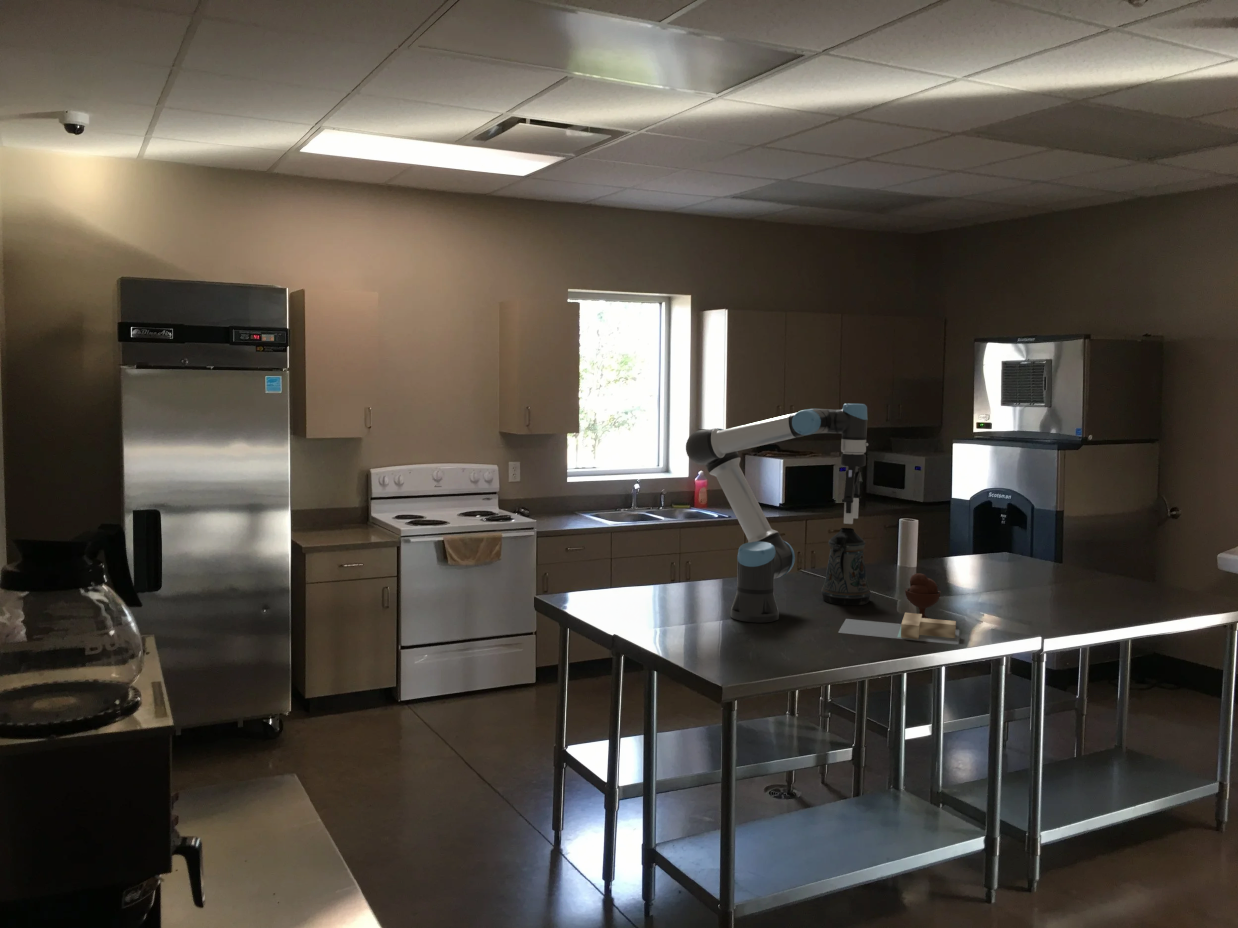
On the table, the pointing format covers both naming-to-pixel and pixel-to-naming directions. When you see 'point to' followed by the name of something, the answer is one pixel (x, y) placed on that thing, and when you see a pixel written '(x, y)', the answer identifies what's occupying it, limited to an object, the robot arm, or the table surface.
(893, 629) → the push board
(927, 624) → the t block
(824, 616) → the table surface
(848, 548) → the beer stein
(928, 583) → the ice cream bowl
